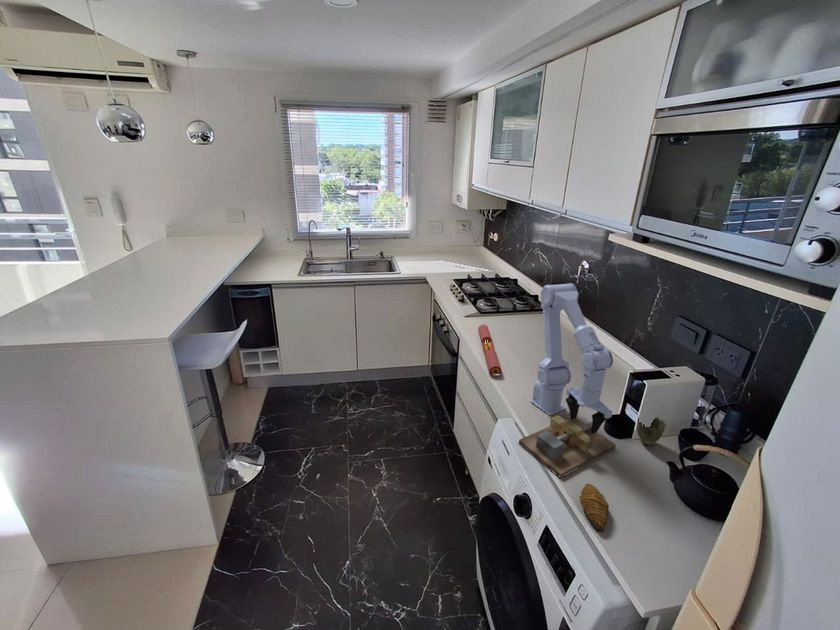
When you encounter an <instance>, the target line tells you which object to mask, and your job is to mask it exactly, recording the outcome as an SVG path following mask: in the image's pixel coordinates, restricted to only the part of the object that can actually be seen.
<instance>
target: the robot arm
mask: <svg viewBox="0 0 840 630" xmlns="http://www.w3.org/2000/svg"><path fill="white" fill-rule="evenodd" d="M578 300H579V292H578V289H577V287H576V286H575V284H574V283H572V282H568V283H563V284H562V283H561V284H546V285H544V286H543V287H542V289H541V290H540V305H541V307H540V308H541V310H542V311H543V312H542V313H543V328H544V349H545V358H544V359H542V361H540V363H539V364H538V372H537V380H536V381H535V383H534V385H533V390H532V398H531V400H530V401H531V402H532V403H531V402H530V401H529V402H530V403H531V404H533V402H534V404H535V405H534V404H533V405H534V406H536V407H537V406H538V407H539V409H540V410H541V409H542V412H544V411H545V412H544V413H545V414H547V415H548V416H552V415H555V414H557V413H560V412H561V411H565V410H566V408H567V407H566V406H564V405H562V399H563V393H564V388H566V386H567V384H569V383H570V382H571V379H572V372H571V370H570V364H569V361H566V360H565V359H564V358H563V352H562V351H563V350H562V331H561V330H562V329H561V326H562V325H561V311H562V310H563V312H564V313H565V315H566V317H567V319H568V320H569V321H570V323H571V325H572V326H573V329H574V330H575V331H574V333H573V337H574V339H575V341H576V343H577V345H578V347H579V350H580V352H581V354H582V355H581V357H580V358H581V364H582V368H581V370H582V378H581V383H580V389H579V390H578V389H575V388H573V387H572V386H571V387H567V389H566V394H565V395H567V396H568V397H566V398H565V402H566V404H567V406H568V410H569V411H568V412H569V417H570V419H575V418H576V419H577V418H578V414H579V409H580V406H581V408H582V407H585V408H589V409H591V410H594V411H596V412H595V413H593V414H592V415H591V419H592V420H591V422H592V428H591V433H593V434H594V433H596V432H598V430H599V429H600V427H601V426H602V424H603V423H604V422H605V421H606V420H607V419H610V418H612V415H613V411H612V410H611V409H610V408H608V406H606V405H605V404H604V403H603V402H602V401H601V395H602V390H603V387H604V382H605V381H604V380H605V378H606V373H607V369H610V368H611V367H612V366H613V363H614V357H613V355H612V352H611V350H610V349H608V348H607V347H605V345H602V344H601V341H600V339H599V337H598V335H597V333H596V331H595V330H594V328H593V327H592V326H590V325H587V322H586V320H585V317H584V314H583V313H582V309H581V307H580V304H579V302H578ZM538 407H537V408H538Z"/></svg>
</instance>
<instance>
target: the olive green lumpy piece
mask: <svg viewBox="0 0 840 630" xmlns="http://www.w3.org/2000/svg"><path fill="white" fill-rule="evenodd" d="M659 419H660V418H659V416H658V417H655V419H654V420H653V422H652V423H651V426H650V427H645V425H644V424H643V426H642V423H641V422H639V418H638V417H637V424H636V433H637V435H638V437H639V440H640V442H641V443H642V444H643V445H646V446H651V445H653V444H654V443H655V442H657V441H659V440H660V438H661V437H662V435H663V433H664V432H665V430H666V428H667V427H666V426H667V424H666V423H665V421H663V419H660V420H659Z"/></svg>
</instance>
